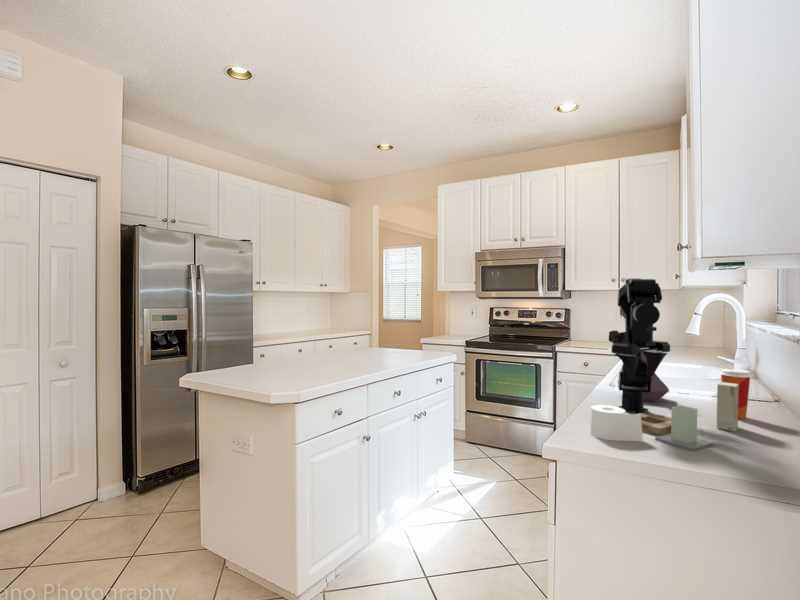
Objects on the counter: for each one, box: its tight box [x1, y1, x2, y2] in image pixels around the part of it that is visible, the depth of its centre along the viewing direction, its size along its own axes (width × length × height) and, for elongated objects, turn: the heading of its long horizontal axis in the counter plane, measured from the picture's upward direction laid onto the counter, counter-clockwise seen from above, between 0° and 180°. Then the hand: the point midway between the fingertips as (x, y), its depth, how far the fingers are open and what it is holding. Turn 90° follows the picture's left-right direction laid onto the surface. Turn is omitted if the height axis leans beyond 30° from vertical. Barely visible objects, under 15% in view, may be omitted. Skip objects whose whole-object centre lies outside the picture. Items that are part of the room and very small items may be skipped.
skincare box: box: [716, 382, 739, 432], centre depth 125 cm, size 6×4×12 cm
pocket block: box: [633, 412, 671, 437], centre depth 124 cm, size 12×12×2 cm
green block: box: [670, 404, 698, 444], centre depth 112 cm, size 4×4×8 cm
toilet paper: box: [589, 404, 644, 442], centre depth 117 cm, size 8×11×7 cm
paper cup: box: [719, 368, 752, 420], centre depth 136 cm, size 8×8×14 cm
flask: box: [622, 350, 670, 403], centre depth 158 cm, size 16×16×20 cm
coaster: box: [654, 433, 714, 452], centre depth 112 cm, size 9×9×1 cm
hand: (640, 377), depth 128 cm, fingers open, 9 cm apart
